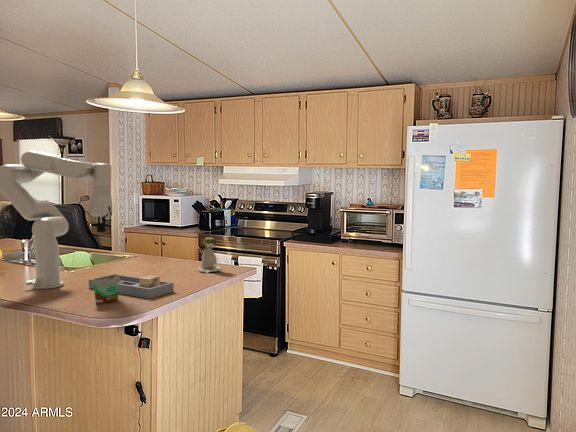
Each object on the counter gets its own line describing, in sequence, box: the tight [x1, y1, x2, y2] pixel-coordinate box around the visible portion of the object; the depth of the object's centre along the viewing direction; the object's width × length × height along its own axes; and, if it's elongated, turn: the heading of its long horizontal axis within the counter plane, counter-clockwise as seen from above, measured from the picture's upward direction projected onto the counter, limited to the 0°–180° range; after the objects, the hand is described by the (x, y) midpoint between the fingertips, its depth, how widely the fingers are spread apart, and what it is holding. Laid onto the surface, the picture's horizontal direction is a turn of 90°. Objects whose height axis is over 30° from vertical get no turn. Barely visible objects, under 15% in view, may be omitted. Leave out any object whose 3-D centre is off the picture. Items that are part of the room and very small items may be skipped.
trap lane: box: [88, 273, 175, 300], centre depth 199 cm, size 14×38×4 cm, turn 61°
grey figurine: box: [198, 236, 222, 274], centre depth 242 cm, size 12×13×18 cm
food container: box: [92, 273, 120, 305], centre depth 179 cm, size 12×6×10 cm, turn 158°
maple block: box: [139, 274, 161, 288], centre depth 193 cm, size 6×6×5 cm
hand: (101, 231), depth 201 cm, fingers closed
